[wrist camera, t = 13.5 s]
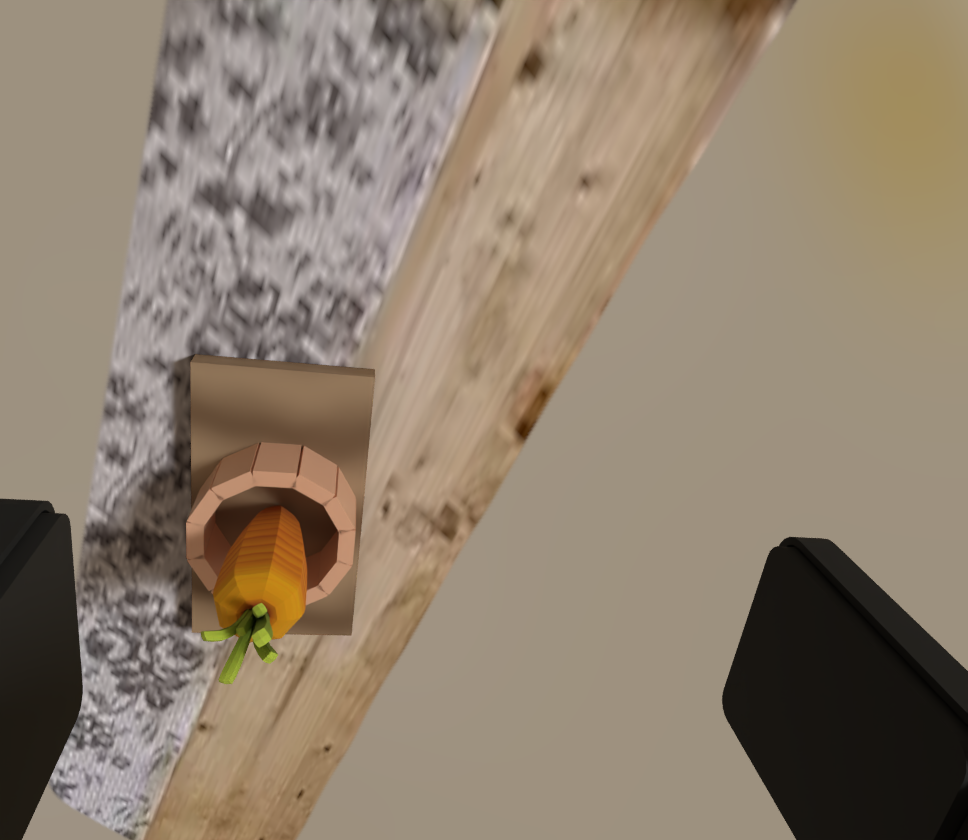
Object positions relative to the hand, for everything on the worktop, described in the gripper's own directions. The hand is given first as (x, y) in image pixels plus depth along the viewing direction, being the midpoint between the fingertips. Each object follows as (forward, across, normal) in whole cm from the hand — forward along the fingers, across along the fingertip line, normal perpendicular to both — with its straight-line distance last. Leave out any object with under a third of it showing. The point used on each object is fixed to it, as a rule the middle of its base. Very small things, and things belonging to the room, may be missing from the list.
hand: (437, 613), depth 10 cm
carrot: (+37, +5, +20) cm, 42 cm away
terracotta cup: (+37, +5, +20) cm, 42 cm away
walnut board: (+38, +5, +20) cm, 43 cm away
